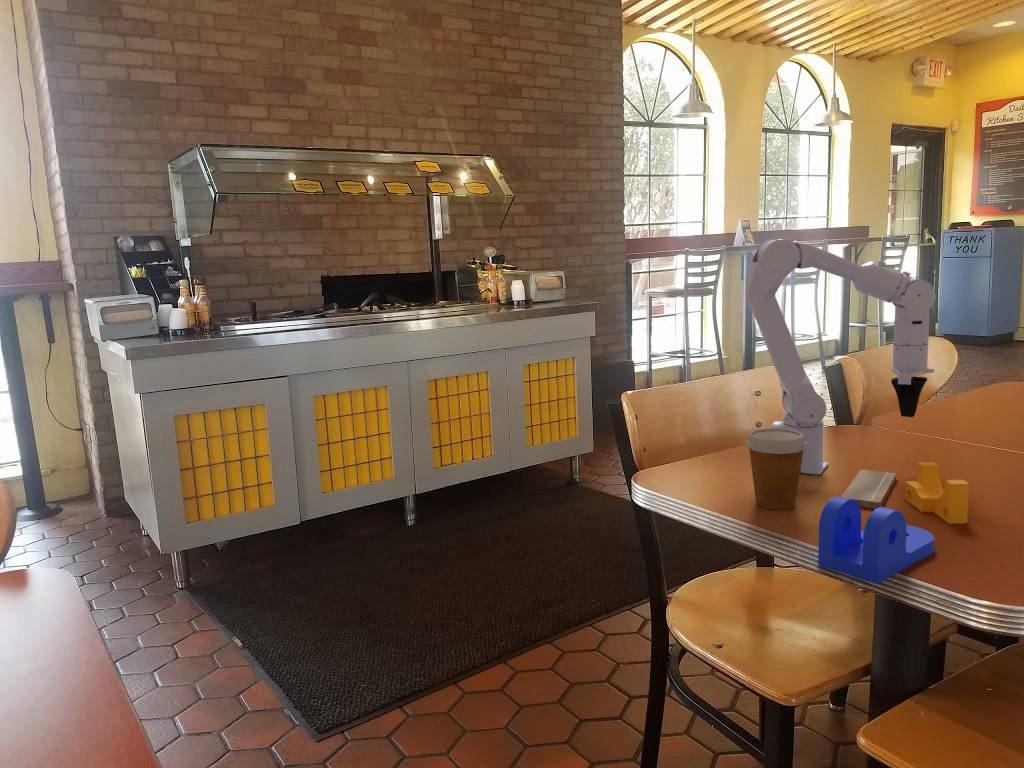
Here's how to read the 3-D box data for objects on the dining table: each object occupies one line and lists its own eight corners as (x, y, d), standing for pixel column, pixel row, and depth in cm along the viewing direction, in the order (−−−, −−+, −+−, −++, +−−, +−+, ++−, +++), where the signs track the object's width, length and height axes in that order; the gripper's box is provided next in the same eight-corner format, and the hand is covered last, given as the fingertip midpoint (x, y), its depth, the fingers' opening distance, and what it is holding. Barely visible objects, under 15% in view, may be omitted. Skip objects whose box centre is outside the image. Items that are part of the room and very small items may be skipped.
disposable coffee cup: (779, 517, 126) (780, 444, 124) (733, 502, 134) (733, 434, 132) (818, 505, 130) (819, 434, 128) (771, 491, 138) (772, 425, 136)
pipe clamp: (905, 499, 131) (906, 462, 130) (932, 499, 131) (933, 461, 130) (937, 524, 120) (939, 484, 119) (967, 524, 119) (969, 483, 118)
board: (840, 504, 130) (840, 497, 130) (860, 475, 145) (860, 469, 145) (880, 509, 127) (880, 502, 127) (896, 479, 142) (896, 473, 141)
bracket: (877, 585, 100) (879, 517, 99) (818, 566, 107) (819, 502, 105) (944, 548, 111) (947, 486, 109) (886, 532, 118) (889, 474, 116)
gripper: (930, 349, 137) (927, 426, 139) (939, 339, 149) (936, 410, 151) (886, 348, 140) (883, 422, 143) (897, 338, 152) (895, 407, 155)
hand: (907, 416), depth 147 cm, fingers closed
